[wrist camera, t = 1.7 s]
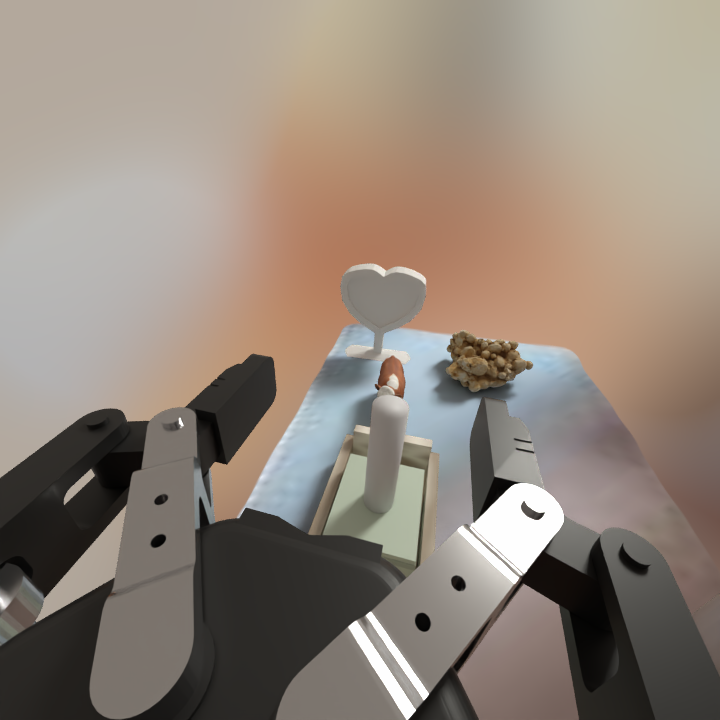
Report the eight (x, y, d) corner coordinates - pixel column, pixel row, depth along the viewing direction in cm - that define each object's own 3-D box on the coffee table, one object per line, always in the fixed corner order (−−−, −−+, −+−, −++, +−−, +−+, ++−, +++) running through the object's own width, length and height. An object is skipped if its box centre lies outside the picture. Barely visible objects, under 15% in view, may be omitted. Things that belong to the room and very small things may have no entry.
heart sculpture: (338, 355, 68) (339, 267, 59) (343, 343, 72) (346, 259, 63) (414, 365, 66) (429, 276, 57) (415, 353, 70) (429, 268, 61)
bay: (433, 474, 44) (442, 442, 41) (397, 1052, 16) (415, 1091, 12) (345, 455, 46) (347, 422, 43) (172, 932, 18) (138, 941, 14)
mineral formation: (445, 353, 71) (520, 361, 68) (441, 399, 61) (530, 411, 58) (449, 321, 66) (532, 328, 63) (447, 366, 56) (544, 377, 53)
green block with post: (418, 498, 39) (445, 380, 30) (409, 590, 31) (442, 466, 22) (348, 481, 41) (354, 365, 32) (321, 565, 32) (319, 439, 23)
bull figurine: (367, 437, 49) (371, 393, 45) (380, 384, 60) (384, 345, 56) (396, 442, 48) (403, 398, 44) (404, 388, 60) (410, 349, 55)
